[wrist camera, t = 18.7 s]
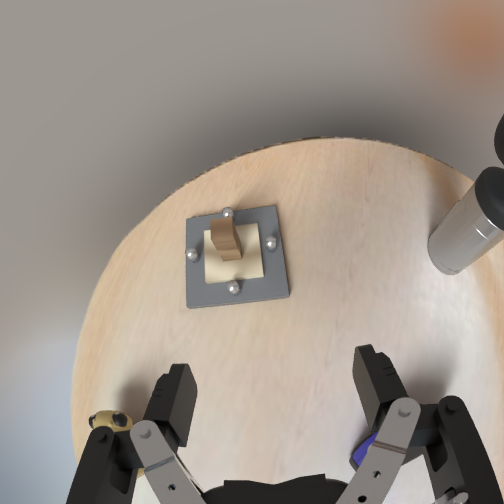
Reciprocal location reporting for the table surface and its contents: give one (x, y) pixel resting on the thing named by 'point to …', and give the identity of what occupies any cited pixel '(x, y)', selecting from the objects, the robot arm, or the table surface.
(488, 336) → the table surface
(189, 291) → the base board
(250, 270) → the handled board
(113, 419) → the yellow toy animal
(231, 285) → the standoff pins
